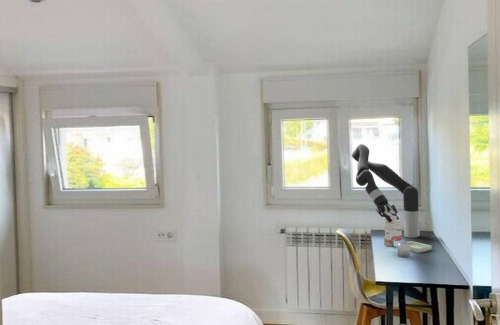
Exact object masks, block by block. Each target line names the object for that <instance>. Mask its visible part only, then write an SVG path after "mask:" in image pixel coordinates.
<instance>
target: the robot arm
mask: <svg viewBox="0 0 500 325" xmlns="http://www.w3.org/2000/svg"><path fill="white" fill-rule="evenodd" d="M351 157H352V159H353V160H355V161H356V162H357V164H356V165H357V171H356V172H357V173H356V176H355V182H356V183H357V185H359V186H360V187H364V186H365V192H366V193H367V194H368V195H369V197H370V199H371V201H372V202H373V203H374V205H375V206H376V209H375V211H376V212H377V214H378V215H379V216H380V217H381V218H384V219H385V218H386V219H387V220H388V222H389V223H390V222H391V221H392V219H391V218H392V217H390V216H389V215H393V216H397V220H400V218H399V216H398V214H397V213H398V210H397V208H396V206H395V205H394V204H392V205H391V204H389V201H388V199H387V197H386V196H385V194H384V193H383V192H382V191H381V189H380V188H379V187H378V185H377V184H376V181H375V179H374V176H373V174H374V175H376V176H377V177H378V178H379V179H380V180H382V181H383V182H385V183H387V184H388V185H390V186H392V187H393V188H395V189H397V190H398V191H399V192H400V193H401V194H402V195H403V196H402V197H403V236H404V237H406V238H410V239H411V238H415V239H416V238H419V237H420V236H421V234H420V233H421V230H420V229H421V226H420V225H421V223H420V221H419V219H420V218H419V216H420V214H419V210H420V209H419V190H418V189H417V187H416V186H415V185H412V184H410V183H408V182H407V181H406V180H404V179H403V178H402V177H401V176H400V175H399V174H398V173H396V172H395V171H394V170H393V169H392V168H390V167H389V166H388V165H387V164H384V163H376V162H371V161H370V160H369V157H370V149H369V147H368V146H366V145H365V144H362V143H360V144H358V145H357V146H356V147H355V149H354V150H353V151H352V152H351ZM372 173H373V174H372Z"/></svg>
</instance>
